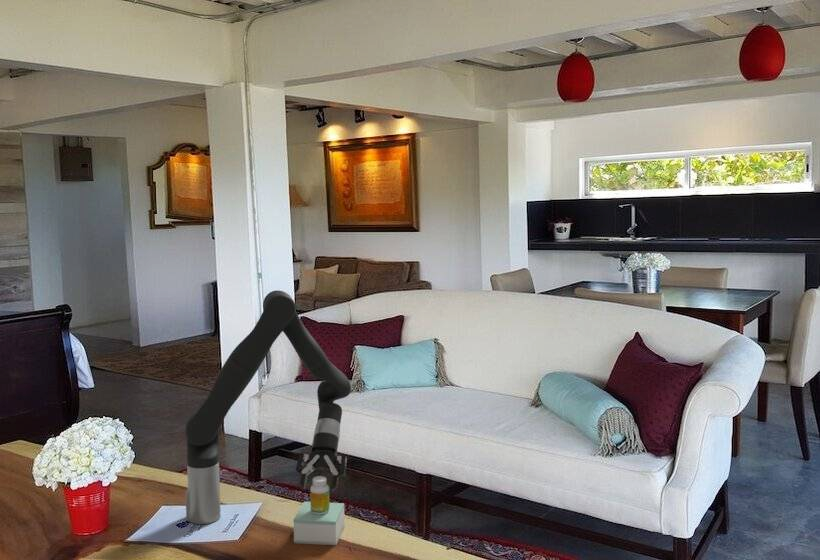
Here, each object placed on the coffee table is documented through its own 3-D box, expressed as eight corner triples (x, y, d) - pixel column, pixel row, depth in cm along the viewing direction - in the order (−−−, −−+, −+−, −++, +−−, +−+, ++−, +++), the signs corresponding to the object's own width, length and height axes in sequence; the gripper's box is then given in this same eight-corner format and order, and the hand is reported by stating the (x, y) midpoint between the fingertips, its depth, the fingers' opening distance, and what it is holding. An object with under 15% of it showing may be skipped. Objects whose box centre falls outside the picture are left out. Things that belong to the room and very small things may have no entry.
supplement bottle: (326, 516, 213) (325, 483, 212) (308, 514, 214) (307, 481, 213) (331, 507, 218) (331, 475, 217) (314, 506, 219) (313, 474, 218)
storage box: (294, 543, 212) (293, 522, 211) (304, 524, 224) (304, 505, 223) (336, 545, 210) (335, 524, 210) (344, 526, 222) (344, 506, 222)
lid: (293, 522, 211) (293, 519, 211) (304, 504, 223) (304, 501, 223) (335, 524, 210) (335, 521, 210) (344, 505, 221) (344, 503, 221)
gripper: (300, 430, 222) (290, 482, 212) (348, 432, 221) (340, 484, 211) (305, 441, 228) (296, 493, 218) (351, 443, 227) (344, 495, 217)
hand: (318, 489), depth 214 cm, fingers open, 8 cm apart
